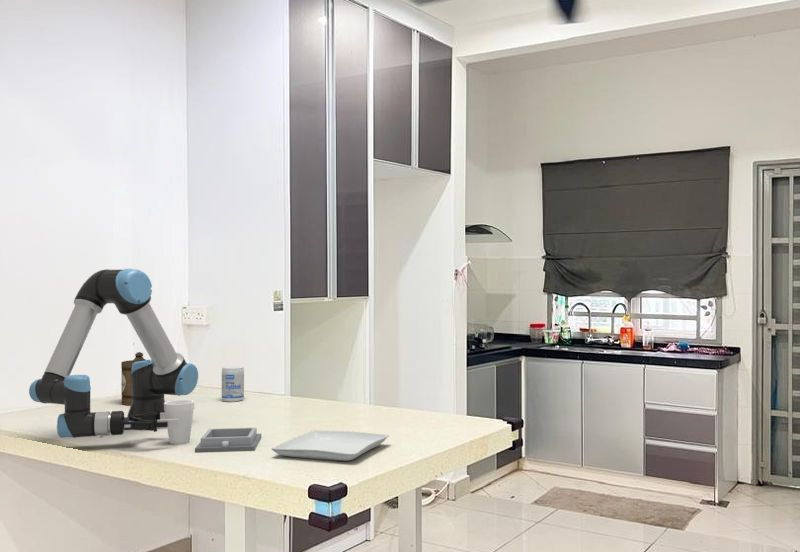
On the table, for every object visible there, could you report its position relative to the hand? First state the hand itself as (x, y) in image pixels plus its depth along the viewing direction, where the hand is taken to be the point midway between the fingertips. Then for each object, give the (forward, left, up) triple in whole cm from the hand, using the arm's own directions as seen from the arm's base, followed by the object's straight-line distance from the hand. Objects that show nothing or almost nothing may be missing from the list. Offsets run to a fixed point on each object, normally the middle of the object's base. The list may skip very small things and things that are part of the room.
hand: (179, 419), depth 247 cm
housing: (+6, +17, -7) cm, 19 cm away
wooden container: (-85, -35, -8) cm, 93 cm away
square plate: (+20, +50, -8) cm, 54 cm away
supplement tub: (-85, +5, -8) cm, 86 cm away
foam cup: (0, 0, -8) cm, 8 cm away
